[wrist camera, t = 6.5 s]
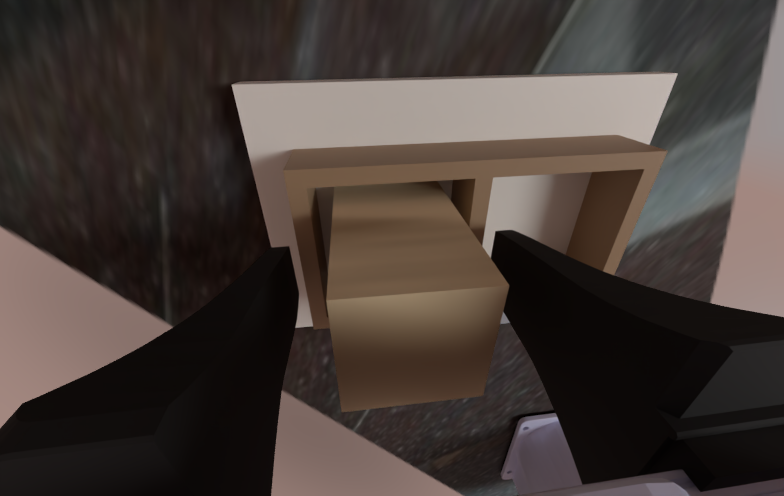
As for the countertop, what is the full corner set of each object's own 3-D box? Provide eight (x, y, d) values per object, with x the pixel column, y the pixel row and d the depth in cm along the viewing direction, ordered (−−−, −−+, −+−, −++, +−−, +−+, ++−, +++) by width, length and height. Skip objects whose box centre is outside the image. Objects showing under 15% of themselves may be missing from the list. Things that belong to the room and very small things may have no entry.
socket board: (576, 287, 19) (618, 331, 16) (293, 314, 17) (283, 367, 14) (656, 71, 13) (744, 78, 10) (239, 81, 11) (204, 93, 9)
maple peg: (428, 260, 15) (482, 395, 9) (342, 266, 15) (341, 412, 9) (434, 177, 13) (509, 285, 7) (334, 182, 13) (326, 300, 7)
